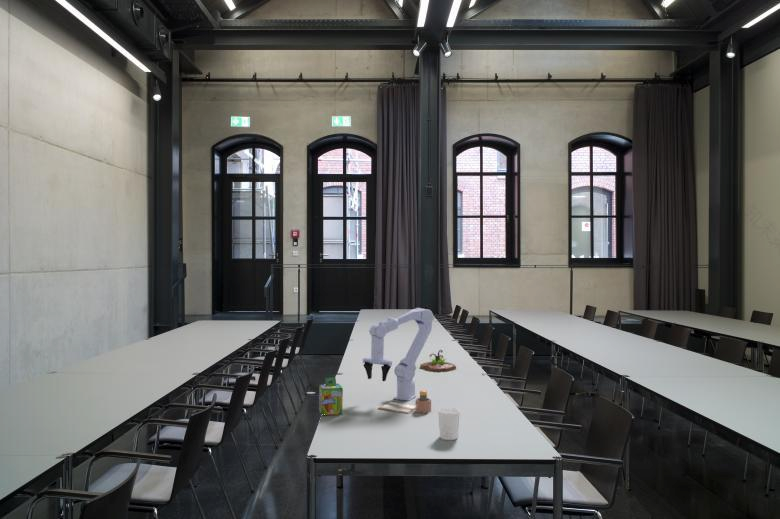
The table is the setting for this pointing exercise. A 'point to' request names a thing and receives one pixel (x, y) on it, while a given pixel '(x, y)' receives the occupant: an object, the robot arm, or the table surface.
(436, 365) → the plant
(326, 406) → the chalk box
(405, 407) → the wooden picture frame
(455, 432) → the white cup
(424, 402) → the pen cup
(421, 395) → the marker
